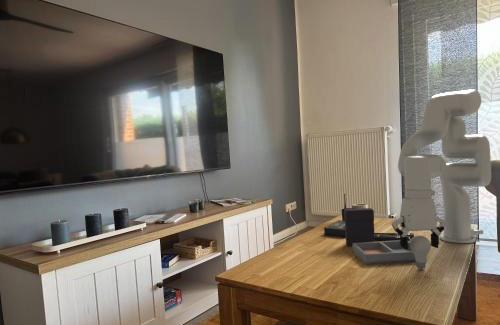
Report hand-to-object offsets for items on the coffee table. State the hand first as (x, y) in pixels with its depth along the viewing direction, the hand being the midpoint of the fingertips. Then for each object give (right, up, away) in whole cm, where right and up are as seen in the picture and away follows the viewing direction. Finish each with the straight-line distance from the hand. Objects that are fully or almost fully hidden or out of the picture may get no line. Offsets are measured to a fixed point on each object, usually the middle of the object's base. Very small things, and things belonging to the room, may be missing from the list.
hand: (419, 247), depth 107 cm
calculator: (-9, -7, +30) cm, 32 cm away
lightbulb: (+1, -7, +1) cm, 7 cm away
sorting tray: (-4, -7, +15) cm, 17 cm away
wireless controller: (-10, -6, +52) cm, 54 cm away
